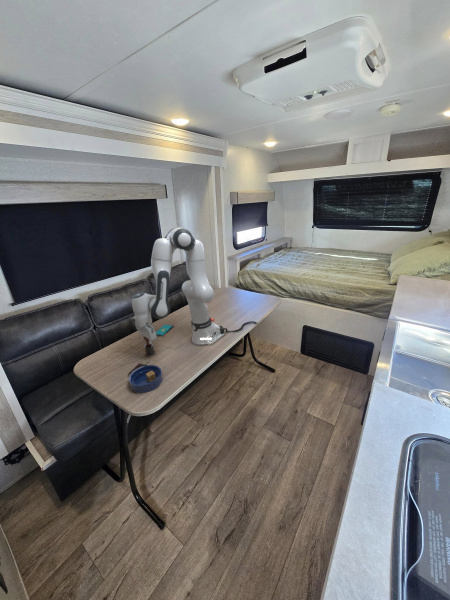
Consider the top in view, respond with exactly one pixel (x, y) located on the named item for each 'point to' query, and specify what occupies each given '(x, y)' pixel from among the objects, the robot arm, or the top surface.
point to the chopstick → (147, 342)
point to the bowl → (145, 379)
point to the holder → (149, 350)
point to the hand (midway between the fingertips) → (147, 341)
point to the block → (150, 376)
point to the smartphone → (163, 330)
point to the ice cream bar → (138, 367)
